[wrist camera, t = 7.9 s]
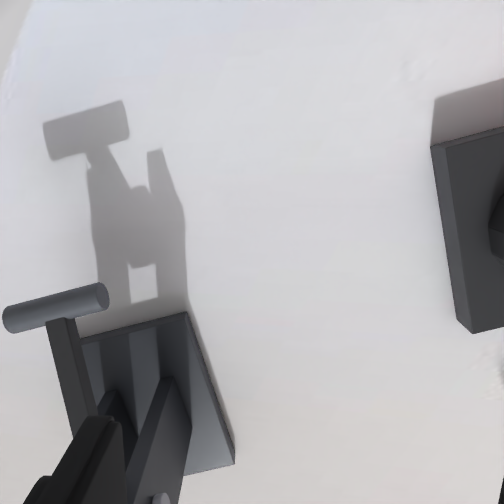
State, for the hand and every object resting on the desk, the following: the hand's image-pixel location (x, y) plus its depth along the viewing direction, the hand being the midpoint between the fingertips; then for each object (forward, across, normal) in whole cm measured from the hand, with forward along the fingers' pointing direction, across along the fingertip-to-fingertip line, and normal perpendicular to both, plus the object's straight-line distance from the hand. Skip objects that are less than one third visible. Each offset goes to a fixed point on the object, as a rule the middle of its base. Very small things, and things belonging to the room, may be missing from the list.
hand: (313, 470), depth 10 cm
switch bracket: (+19, +8, +11) cm, 23 cm away
